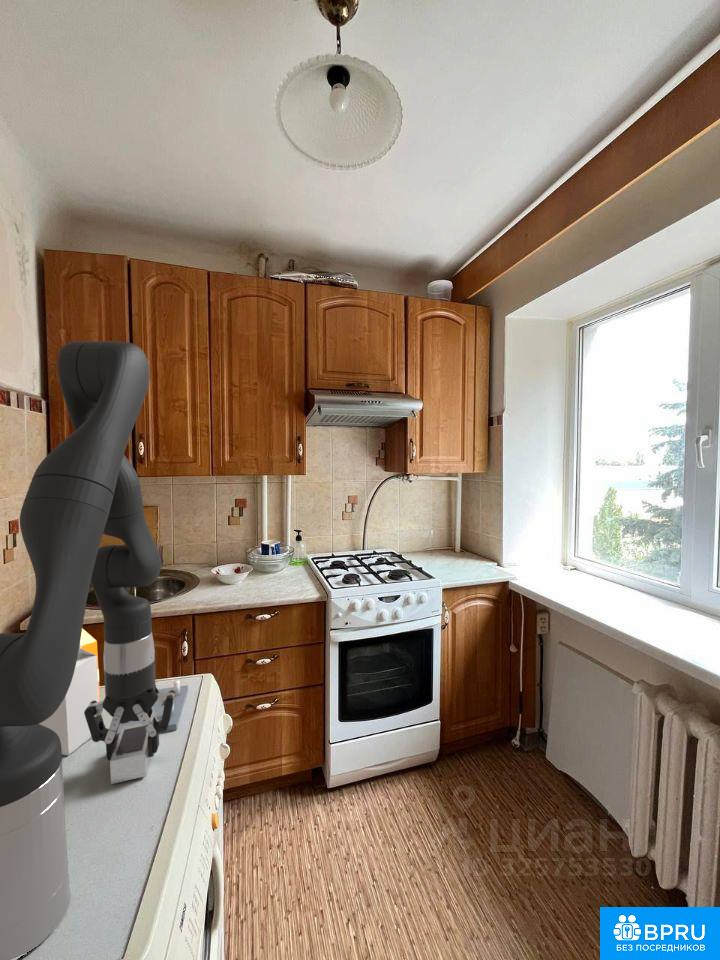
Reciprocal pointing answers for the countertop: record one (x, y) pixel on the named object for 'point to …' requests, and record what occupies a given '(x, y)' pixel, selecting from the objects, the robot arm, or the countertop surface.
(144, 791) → the countertop surface
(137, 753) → the block
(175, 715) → the grey plate with pegs
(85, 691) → the milk carton
